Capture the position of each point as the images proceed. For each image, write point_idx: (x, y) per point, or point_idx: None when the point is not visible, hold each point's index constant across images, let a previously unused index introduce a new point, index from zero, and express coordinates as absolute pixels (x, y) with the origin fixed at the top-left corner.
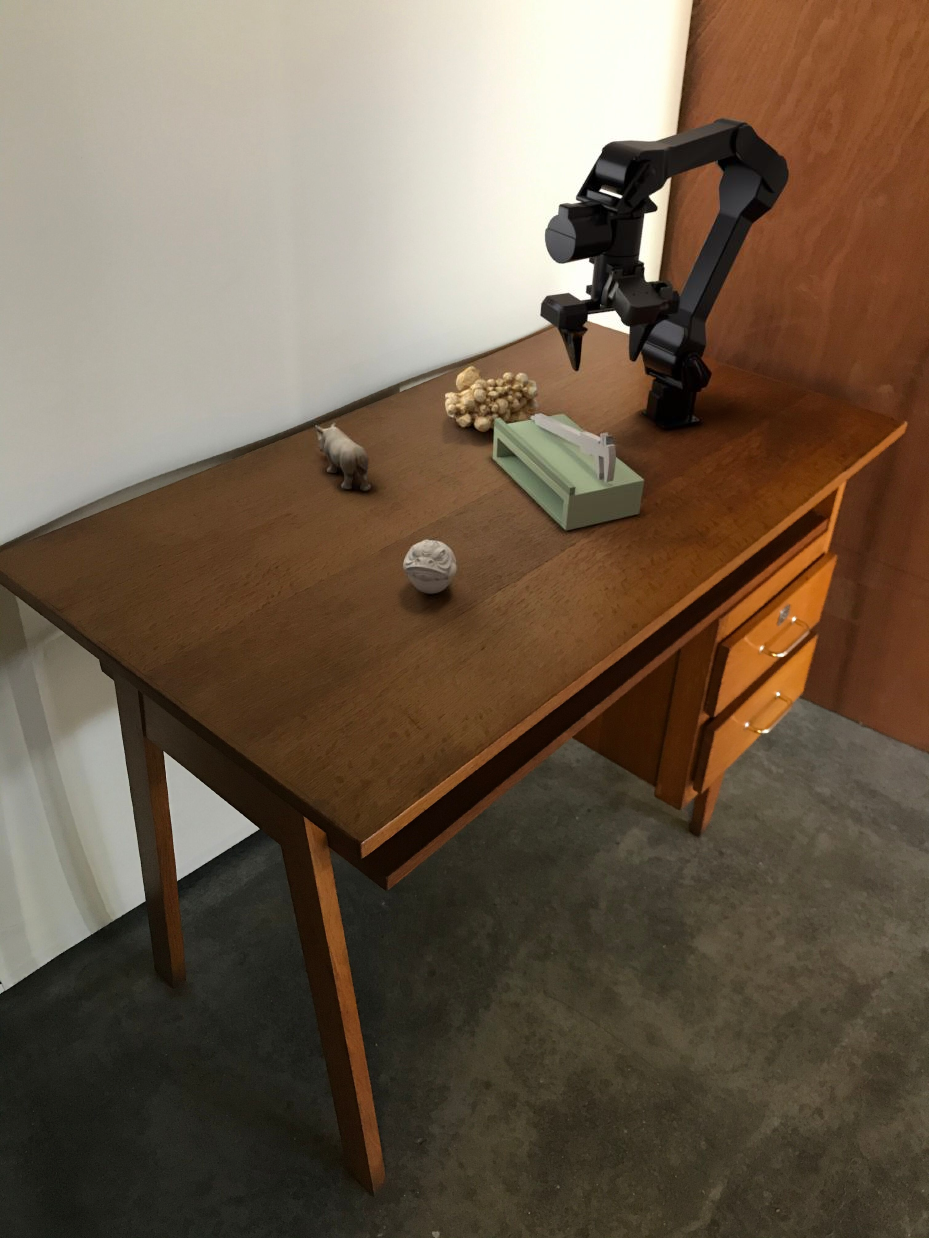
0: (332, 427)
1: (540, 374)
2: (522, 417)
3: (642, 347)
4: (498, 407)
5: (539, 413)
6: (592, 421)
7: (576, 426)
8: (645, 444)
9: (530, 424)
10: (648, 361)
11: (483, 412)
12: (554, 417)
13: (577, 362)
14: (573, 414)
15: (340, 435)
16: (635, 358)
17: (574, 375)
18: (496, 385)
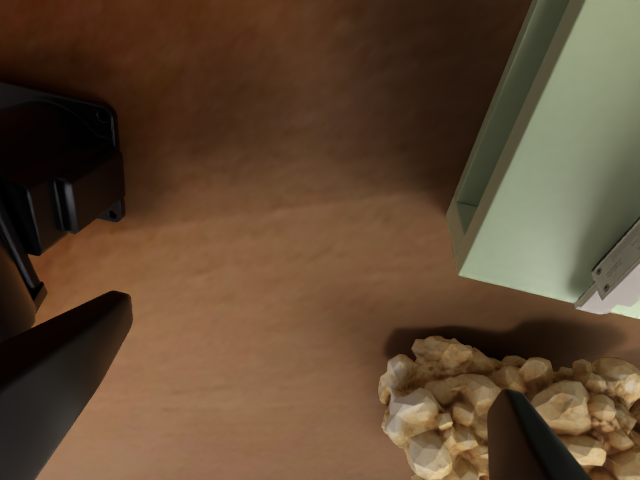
0: None
1: (228, 438)
2: (454, 351)
3: (18, 337)
4: (593, 404)
5: (609, 302)
6: (267, 259)
7: (513, 179)
8: (219, 72)
9: None
10: (15, 303)
11: (627, 410)
12: (510, 273)
13: (553, 444)
14: (284, 306)
15: None
16: (108, 302)
17: (168, 404)
18: None
